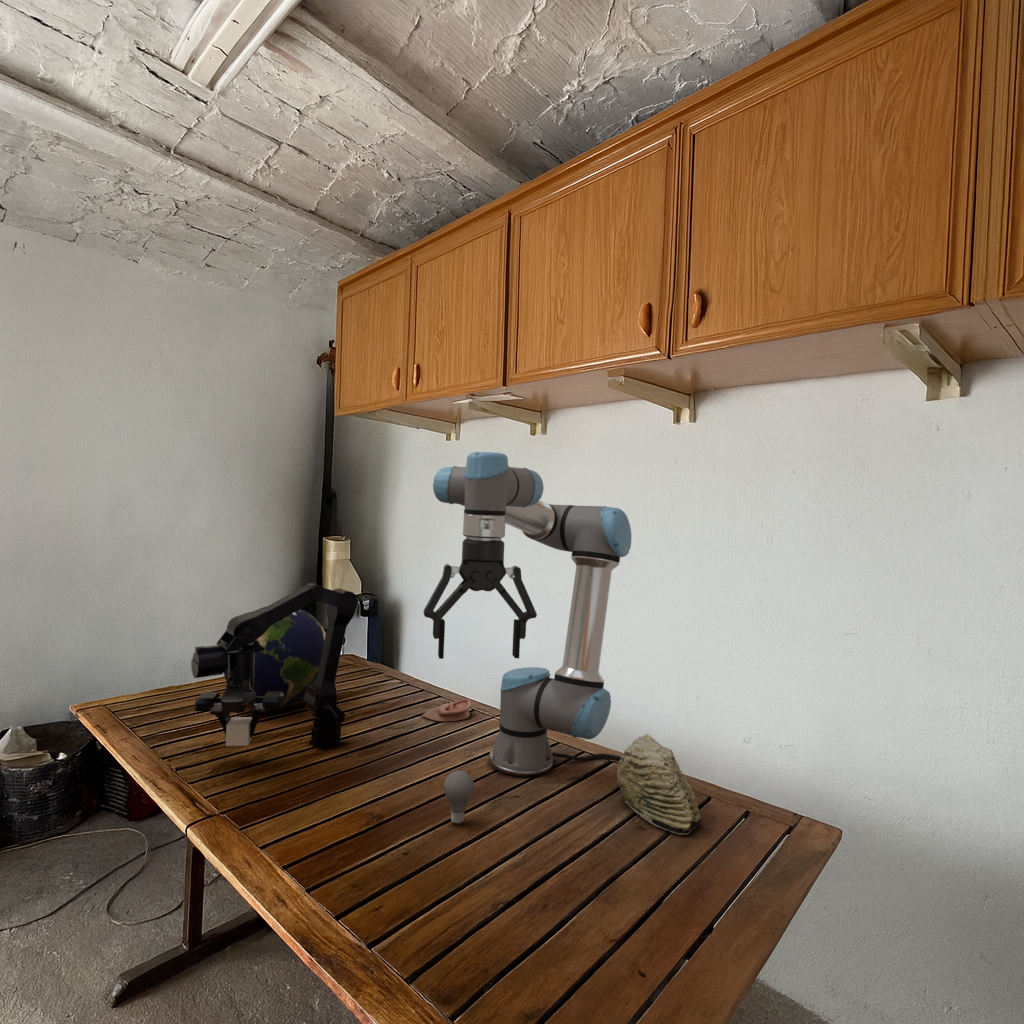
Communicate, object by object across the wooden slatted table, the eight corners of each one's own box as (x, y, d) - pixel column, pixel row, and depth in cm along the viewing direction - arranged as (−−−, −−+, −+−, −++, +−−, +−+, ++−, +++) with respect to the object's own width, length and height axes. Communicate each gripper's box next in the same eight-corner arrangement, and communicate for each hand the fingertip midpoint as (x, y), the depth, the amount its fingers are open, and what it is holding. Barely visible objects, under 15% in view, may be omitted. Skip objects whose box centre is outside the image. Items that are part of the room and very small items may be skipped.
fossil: (629, 792, 142) (632, 725, 142) (706, 824, 129) (710, 751, 129) (606, 804, 135) (609, 735, 135) (684, 839, 122) (687, 763, 122)
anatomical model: (419, 705, 182) (432, 693, 194) (418, 719, 182) (431, 706, 194) (463, 710, 180) (474, 698, 191) (463, 724, 180) (473, 711, 191)
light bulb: (442, 814, 128) (444, 765, 128) (472, 814, 129) (474, 765, 129) (441, 829, 122) (444, 778, 122) (472, 829, 123) (475, 778, 123)
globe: (289, 685, 209) (292, 594, 208) (348, 705, 191) (352, 606, 191) (199, 706, 185) (203, 604, 184) (258, 732, 167) (262, 619, 167)
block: (225, 746, 145) (226, 725, 145) (231, 738, 150) (231, 717, 150) (247, 745, 146) (248, 724, 146) (252, 737, 151) (253, 716, 151)
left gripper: (187, 681, 138) (185, 752, 139) (277, 680, 141) (274, 749, 142) (202, 667, 149) (200, 733, 149) (285, 667, 152) (283, 731, 153)
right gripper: (414, 538, 107) (409, 662, 108) (556, 542, 112) (551, 661, 112) (412, 535, 115) (407, 651, 115) (546, 539, 119) (541, 651, 120)
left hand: (239, 737), depth 148 cm, fingers closed on block, 5 cm apart
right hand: (478, 656), depth 114 cm, fingers open, 13 cm apart
